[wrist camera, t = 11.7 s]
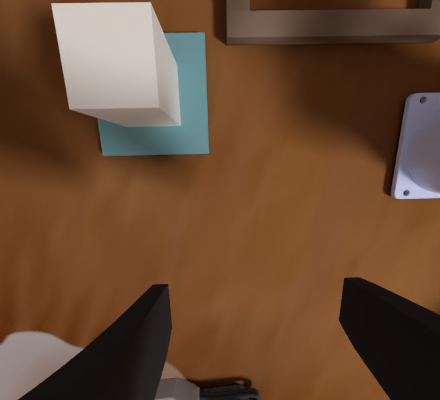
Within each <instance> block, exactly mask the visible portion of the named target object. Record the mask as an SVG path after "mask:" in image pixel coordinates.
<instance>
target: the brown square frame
mask: <svg viewBox="0 0 440 400" xmlns="http://www.w3.org/2000/svg"><path fill="white" fill-rule="evenodd" d="M438 39H440V0H419V4H418V9H355V10H259V11H250V0H226V45H286V44H360V43H433V42H434V41H436V40H438Z"/></svg>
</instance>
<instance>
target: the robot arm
mask: <svg viewBox="0 0 440 400" xmlns="http://www.w3.org/2000/svg"><path fill="white" fill-rule="evenodd" d="M420 98H421V103H420ZM404 191H405V194H404V195H403V192H404ZM391 196H392V197H393V198H396V199H419V198H440V93H415V94H412V95H410V96H408V98H407V99H406V103H405V109H404V115H403V121H402V127H401V133H400V139H399V145H398V151H397V158H396V164H395V170H394V176H393V182H392V188H391ZM339 321H340V323H341V325H342V327H343V329H344V331H345V332H346V334H347V336H348V338H349V340H350V341H351V343H352V345H353V347H354V348H355V350H356V351H357V353H358V354H359V356H360V357H361V358H362V360H363V361H364V363H365V364H366V366H367V367H368V368H369V370H370V371H371V373H372V374H373V376H374V377H375V378H376V380H377V381H378V383H379V384H380V385H381V387H382V388H383V390H384V391H385V392H386V394H387V395H388V397H389V398H390V400H440V315H439V314H437V313H434V312H432V311H430V310H428V309H426V308H424V307H422V306H420V305H418V304H416V303H414V302H411V301H409V300H407V299H405V298H403V297H401V296H399V295H397V294H395V293H393V292H391V291H389V290H387V289H385V288H382V287H380V286H378V285H376V284H374V283H372V282H369V281H367V280H365V279H362V278H359V277H354V278H344V284H343V292H342V300H341V308H340V316H339ZM171 329H172V322H171V311H170V300H169V288H168V284H155V285H152V286H151V287H150V288H149V289H148V290H147V291H146V292H145V293H144V294H143V295H142V296H141V297H140V298H139V299H138V300H137V301H136V302H135V303H134V304H133V305H132V306H131V307H130V308H129V309H127V310H126V311H125V312H124V313H123V314H122V315H121V316H120V317H119V318H118V319H117V320H116V321H115V322H114V323H113V324H112V325H111V326H109V327H108V328H107V329H106V330H105V331H104V332H103V333H101V334H100V335H99V336H98V337H97V338H96V339H95V340H94V341H92V342H91V343H90V344H89V345H88V346H87V347H86V348H84V349H83V350H82V351H81V352H80V353H78V354H77V355H76V356H75V357H74V358H72V359H71V360H70V361H69V362H67V363H66V364H65V365H64V366H62V367H61V368H60V369H58V370H57V371H56V372H55V373H53V374H52V375H51V376H50V377H48V378H47V379H46V380H44V381H43V382H42V383H40V384H39V385H38V386H37V387H35V388H34V389H32V390H31V391H30V392H28V393H27V394H25V395H24V396H23V397H21V398H20V399H18V400H155V396H156V393H157V389H158V385H159V382H160V378H161V375H162V371H163V368H164V364H165V360H166V357H167V352H168V347H169V341H170V335H171Z"/></svg>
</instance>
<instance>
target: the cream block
mask: <svg viewBox="0 0 440 400" xmlns="http://www.w3.org/2000/svg"><path fill="white" fill-rule="evenodd" d="M51 5H52V11H53V16H54V22H55V28H56V34H57V40H58V45H59V51H60V57H61V63H62V69H63V74H64V80H65V86H66V92H67V97H68V103H69V109H70V110H73V111H77V112H80V113H83V114H86V115H89V116H93V117H96V118H99V119H102V120H106V121H109V122H112V123H115V124H118V125H122V126H125V127H150V126H181V119H180V103H179V87H178V71H177V64H176V61H175V59H174V57H173V54H172V52H171V49H170V47H169V45H168V42H167V40H166V38H165V35H164V33H163V31H162V28H161V26H160V23H159V21H158V19H157V16H156V14H155V12H154V9H153V7H152V5H151V2H136V3H51Z"/></svg>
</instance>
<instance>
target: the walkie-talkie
mask: <svg viewBox="0 0 440 400" xmlns="http://www.w3.org/2000/svg"><path fill="white" fill-rule="evenodd" d="M249 397H250V398H249ZM155 400H260V396H259V392H258V390H256V389H255V388H247V387H245V386H243V385H241V384H239V385H233V386H231V385H229V386H224V387H221V386H220V387H217V388H216V387H214V388H209V389H206V388H204V389H200V387H197V385H195V384H193V383H191V382H188V381H186V380H183V379H181V378H171V379H162V380H160V382H159V385H158V389H157V393H156V396H155Z"/></svg>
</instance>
